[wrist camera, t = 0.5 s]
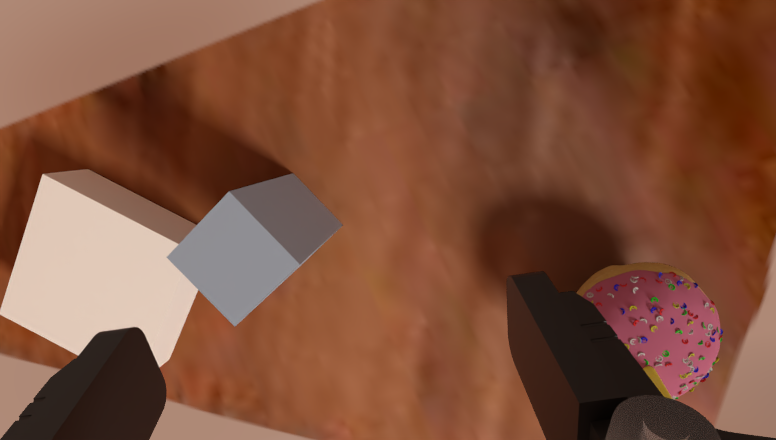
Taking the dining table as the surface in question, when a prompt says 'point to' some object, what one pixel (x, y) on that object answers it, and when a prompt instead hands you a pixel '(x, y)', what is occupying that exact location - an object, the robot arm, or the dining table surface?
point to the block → (253, 243)
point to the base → (98, 265)
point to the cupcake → (659, 321)
